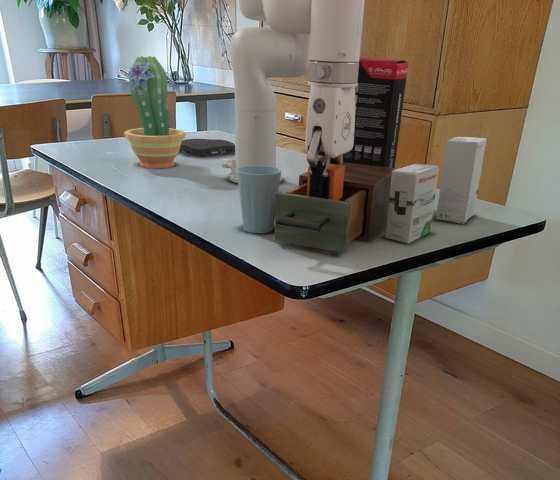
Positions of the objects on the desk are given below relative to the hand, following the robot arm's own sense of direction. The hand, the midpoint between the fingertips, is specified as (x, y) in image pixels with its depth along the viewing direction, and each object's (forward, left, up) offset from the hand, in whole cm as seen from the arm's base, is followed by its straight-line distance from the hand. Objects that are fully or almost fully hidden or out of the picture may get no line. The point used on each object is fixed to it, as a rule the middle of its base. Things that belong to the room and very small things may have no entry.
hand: (324, 196), depth 98 cm
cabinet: (0, +12, -8) cm, 14 cm away
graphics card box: (-6, +31, -8) cm, 33 cm away
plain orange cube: (0, 0, 0) cm, 0 cm away
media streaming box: (-61, +60, -8) cm, 86 cm away
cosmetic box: (+17, +28, -8) cm, 34 cm away
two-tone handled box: (0, -2, -7) cm, 7 cm away
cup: (-13, +1, -8) cm, 15 cm away
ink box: (+12, +11, -8) cm, 18 cm away
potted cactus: (-62, +38, -8) cm, 73 cm away
